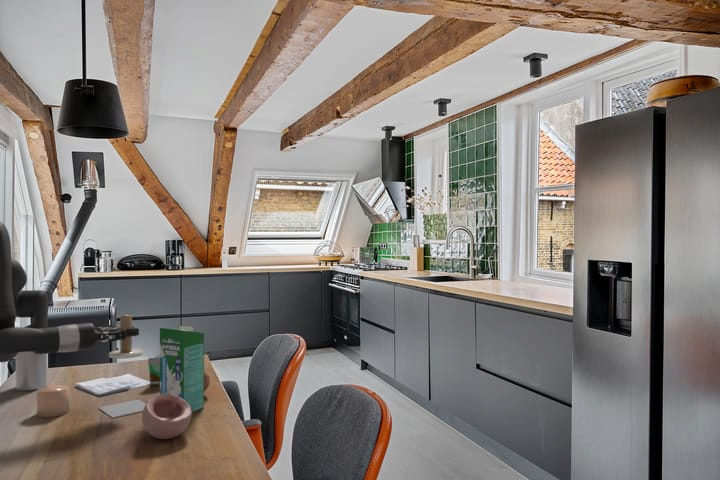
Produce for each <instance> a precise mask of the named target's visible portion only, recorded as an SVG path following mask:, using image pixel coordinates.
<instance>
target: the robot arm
mask: <svg viewBox="0 0 720 480" xmlns="http://www.w3.org/2000/svg"><path fill="white" fill-rule="evenodd" d="M11 245H12V243H11V237H10V233H9V231H8V228H7V227H6V224H5V223H3V222H2V221H0V363H7V362H9V361H12V360H13V359H14V358H15V390H16V391H35V390H38V389H40V388H43V387H47V386H48V354H53V353H55V354H56V353H70V352H79V351H86V350H91V349H93V348H94V347H95V345H96V342H100V343H107V342H109V343H111V342H115V341H120V340H122V339H126V337H130V336H132V337H137V336H139V334H140V329H139V328H138V327H136V328H135V327H134V326H132V329H120V326H117V327H116V326H99V327H98V326H96V327H95V326H94V324H93V323H92V322H85V323H84V322H83V323H75V324H74V323H71V324H63V325H59V326H53V327H51V326H50V327H48V318H49V295H48V293H47V291H46V290H42V289H35V290H34V289H33V290H23V289H24V287H25V286H26V284H27V282H28V281H27V280H28V275H27V273H26V271H25V269H24V268H23V266H22V264H21V263H20V262H19V261H18V260H16V259H15V258H14V257H12V246H11ZM17 318H23V319H24V318H34V319H33V322H31V323H30V324H29V325H26V326H23V327H20V326H19V327H18V326H17V327H16V320H17ZM120 333H122V336H120Z"/></svg>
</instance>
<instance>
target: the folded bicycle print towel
mask: <svg viewBox="0 0 720 480" xmlns="http://www.w3.org/2000/svg"><path fill="white" fill-rule="evenodd" d="M74 385H75V386H74V387H76V388H77V389H80V390H83V391H86V392H88V393H90V394H92V395H95V396H97V397H103V396H107V395H111V394H116V393H119V392H123V391H124V392H125V391H128V390H134V389H139V388H142V387H148V386H150V380H146V379H143V378H141V377H137V376H135V375H133V374H131V373H126V374H122V375H120V376H119V375H118V376H114V377H109V378H106V377H100V378H97V379H91V380H87V381H82V382H75V383H74Z"/></svg>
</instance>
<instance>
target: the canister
mask: <svg viewBox="0 0 720 480" xmlns="http://www.w3.org/2000/svg"><path fill="white" fill-rule="evenodd" d="M35 400H36V402H35V403H36V411H35V412H36V414H35V415H36V417H39V418H55V417H58V416H62V415H66V414H68V413H69V412H70V386H69V385H66V384H56V385H47V386H45V387H43V388H39V389H36V398H35Z"/></svg>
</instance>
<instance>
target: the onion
mask: <svg viewBox="0 0 720 480" xmlns="http://www.w3.org/2000/svg"><path fill="white" fill-rule="evenodd" d="M210 382H211V379H210V375H209V373H208V372H207V371H206V370H204V392H206V391H207V389H208V388H209V386H210V384H211V383H210Z"/></svg>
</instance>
